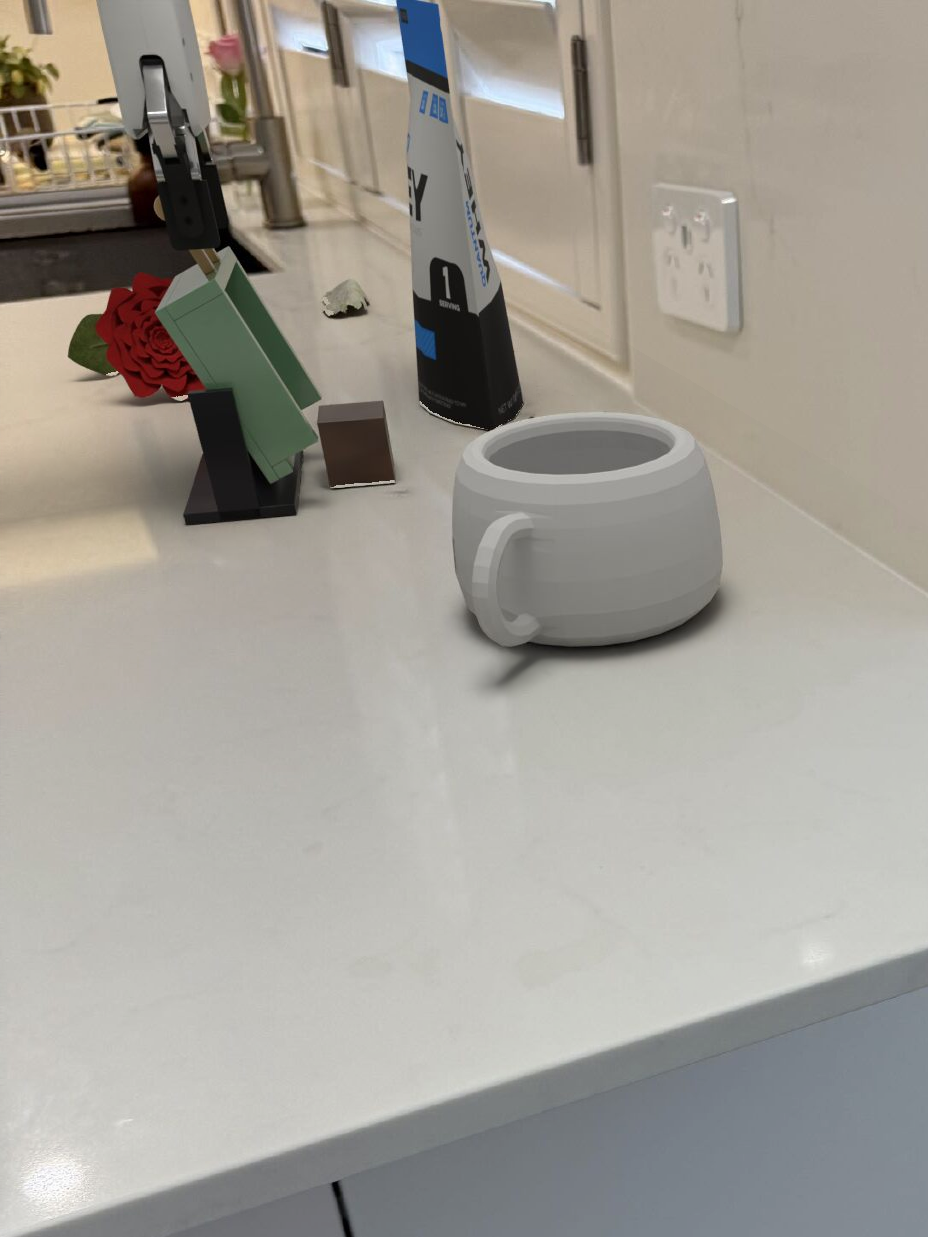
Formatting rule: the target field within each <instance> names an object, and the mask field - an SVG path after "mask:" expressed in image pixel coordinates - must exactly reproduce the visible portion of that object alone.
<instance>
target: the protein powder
mask: <svg viewBox="0 0 928 1237" xmlns="http://www.w3.org/2000/svg"><path fill="white" fill-rule="evenodd" d="M395 4H396V10H397V14H398V24H399V30H400V37H401V43H402V45H401V46H402V52H403V57H404V65H405V72H406V78H407V79H406V80H407V85H408V92H409V98H410V99H409V101H410V102H409V111H408V125H407V139H406V150H405V151H406V152H405V157H406V158H405V159H406V171H407V183H408V184H407V186H408V210H409V233H410V234H409V235H410V236H409V237H410V262H411V291H412V306H413V320H414V321H413V322H414V339H415V355H416V356H415V357H416V373H417V388H418V389H417V390H418V402H419V401H421V402H422V404H424V405H425V406H426V407H428V409H429V410H430V411H432V412H433V413H437V414H439V415H440V416H442V417H445V418H447V419H451V420H453V421H455V422H458V423H459V422H460V423H462V424H470V425H472V426H476V427H480V428H484V429H488V430H494V429H495V428H496V427H498V426H499V425H501V424H504V423H506V422H507V421H508V420H510V419H512V420H514V419H515V418H514V417H515V416H516V414H517V413H518V414H519V412H520V411H521V409H520V407H521V406H522V404H523V403H524V398H523V392H522V388H521V382H520V377H519V376H520V375H519V370H518V366H517V360H516V354H515V348H514V343H513V338H512V332H511V328H510V322H509V317H508V312H507V311H508V310H507V306H506V300H505V294H504V290H503V284H502V279H501V276H500V274H499V271H498V267H497V265H496V261H495V259H494V256H493V253H492V250H491V247H490V244H489V241H488V238H487V235H486V231H485V230H486V229H485V226H484V222H483V217H482V212H481V208H480V204H479V198H478V195H477V189H476V185H475V181H474V177H473V176H474V175H473V173H472V167H471V162H470V159H469V157H468V154H467V151H466V149H465V146H464V143H463V140H462V137H461V136H460V133H459V130H458V127H457V125H456V122H455V119H454V115H453V108H452V106H453V104H452V99H451V98H452V97H451V91H450V82H449V77H448V76H449V75H448V69H447V59H446V54H445V53H446V52H445V44H444V37H443V31H442V26H441V15H440V8H439V4H438V3H436V2H435V3H434V2H429V1H425V0H395ZM523 405H524V404H523ZM522 407H523V406H522ZM522 407H521V408H522ZM519 410H520V411H519ZM518 411H519V412H518ZM518 414H517V415H518ZM516 417H517V416H516ZM513 418H514V419H513ZM507 423H508V422H507ZM507 423H506V424H507ZM504 425H505V424H504ZM488 430H487V431H488Z"/></svg>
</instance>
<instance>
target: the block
mask: <svg viewBox="0 0 928 1237" xmlns="http://www.w3.org/2000/svg"><path fill="white" fill-rule="evenodd" d="M387 420H388V419H387V414H386V409H385V402H384V400H374V401H373V400H372V401H360V402H347V403H337V404H336V403H335V404H323V405H322V404H321V405H318V411H317V420H316V424H317V429H318V435H319V440H320V444H321V449H322V455H323V459H324V464H325V468H326V474H327V479H328V483H329V488H330V487H334V486H336V485H345V484H354V483H372V482H379V481H390V480H395V481H396V469H395V470H394V466H395V460H394V454H393V448H392V442H391V436H390V430H389V425H388V421H387Z"/></svg>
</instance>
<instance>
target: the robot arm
mask: <svg viewBox="0 0 928 1237" xmlns="http://www.w3.org/2000/svg"><path fill="white" fill-rule="evenodd" d="M95 1H96V2H95V3H96V6H97V11H98V12H97V13H98V16H99V20H100V24H101V25H100V26H101V30H102V35H103V39H104V43H105V49H106V52H107V56H108V61H109V66H110V69H111V70H110V71H111V75H112V79H113V83H114V88H115V93H116V97H117V101H118V102H117V103H118V106H119V109H120V110H119V111H120V115H121V119H122V126H123V127H124V132H125V133H126V134H127V135H128V136H129V137H130V138H132V139H133V140H140V139H141V138H143V137H144V136H145V135H146V134H147V135H148V141H149V146H150V152H151V158H152V163H153V169H154V175H155V178H156V181H157V182H155V185H156V189H157V193H158V195H159V198H160V202H161V206H162V210H163V214H164V218H165V221H164V222H165V226H166V230H167V233H168V238H169V242H170V246H171V248H172V249H173V250H175V251H189V250H196V249H213V248H214V249H218V248H219V247H220V246H221V236H220V232H219V230H224V229H225V230H226V229H227V228H228V227H229V225H230V219H229V214H228V211H227V206H226V202H225V197H224V192H223V187H222V184H221V179H220V175H219V170H218V165H217V163H215V164H214V158H213V153H212V149H211V144H210V141H209V139H208V135H207V132H206V128H207V127H208V126H209V124H211V120H212V119H211V117H212V115H211V108H210V100H209V94H208V90H207V83H206V77H205V71H204V66H203V60H202V55H201V52H200V51H201V50H200V46H199V41H198V35H197V30H196V26H195V21H194V16H193V12H192V8H191V3H190V0H95Z"/></svg>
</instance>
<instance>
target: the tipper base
mask: <svg viewBox="0 0 928 1237" xmlns="http://www.w3.org/2000/svg"><path fill="white" fill-rule="evenodd" d="M188 401H189V405H190V409H191V414H192V416H193V417H192V418H193V422H194V424H195V428H196V432H197V437H198V439H199V443H200V447H201V451H202V453H201V456H200V458H199V459H200V460H199V462H198V466H197V470H196V472H195V476H194V478H193V482H192V485H191V489H190V491H189V494H188V498H187V501H186V504H185V507H184V510H183V513H182V517H183V520H184V523H185V526H190V525H200V524H201V525H202V524H212V523H223V522H235V521H244V520H254V519H255V520H256V519H265V518H277V517H287V516H296V515H297V514H298V506H299V498H298V494H299V495H300V489H299V486H300V487H301V481H300V477H301V478H302V472H303V463H302V459H303V460H304V455H303V453H304V449H303V450H301V451H300V452H298V453H296V454H295V461H294V469H293V472H292V473H290V474H288V475H286V476H284V477H283V478H281V479H280V478H279V480H277V481H275V482H274V483H272V484H270V483H269V481H268V480H267V478H266V477H265V475H264V474H263V472H262V471H261V470H260V468H259V467H258V465H257V464H256V462H255V461H254V459H253V458H252V456H251V455H250V453H249V452H248V450H247V446H246V442H245V438H244V434H243V430H242V426H241V421H240V417H239V413H238V409H237V405H236V401H235V396H234V392H233V388H221V389H208V390H195V391H189V392H188ZM301 469H302V470H301ZM301 471H302V472H301ZM299 484H300V485H299Z"/></svg>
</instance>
